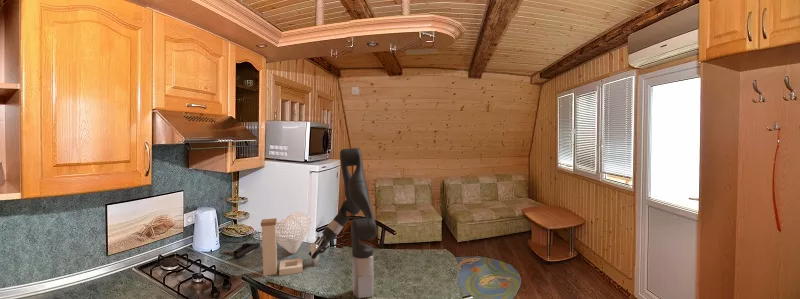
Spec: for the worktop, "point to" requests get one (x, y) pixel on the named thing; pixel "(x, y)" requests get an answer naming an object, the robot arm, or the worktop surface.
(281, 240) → the heart
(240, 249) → the door handle
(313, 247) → the steel pin
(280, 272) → the slotted post
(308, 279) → the worktop surface
